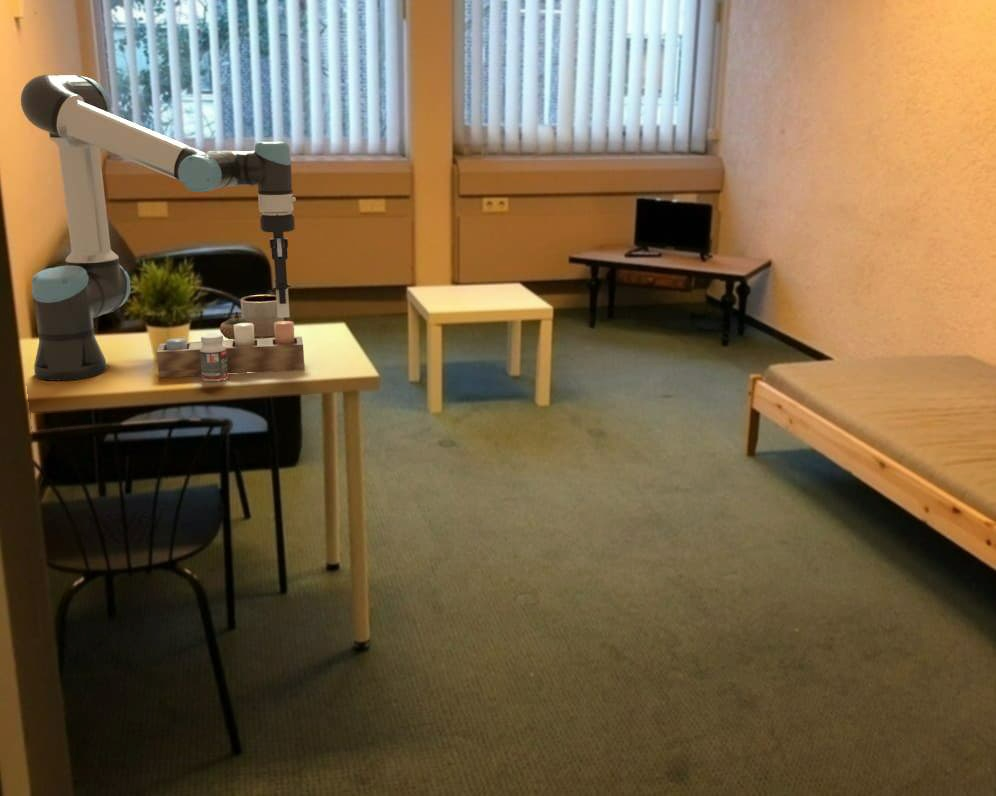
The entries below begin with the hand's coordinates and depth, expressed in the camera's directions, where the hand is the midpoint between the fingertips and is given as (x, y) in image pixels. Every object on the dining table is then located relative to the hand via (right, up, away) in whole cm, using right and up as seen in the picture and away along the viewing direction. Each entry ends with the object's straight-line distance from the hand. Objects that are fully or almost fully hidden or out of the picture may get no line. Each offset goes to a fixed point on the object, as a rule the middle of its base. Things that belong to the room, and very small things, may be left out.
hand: (283, 316), depth 232 cm
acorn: (-15, -7, +17) cm, 24 cm away
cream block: (-9, -7, 0) cm, 11 cm away
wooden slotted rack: (-12, -12, +1) cm, 17 cm away
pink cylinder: (0, -7, +2) cm, 7 cm away
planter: (-13, -2, +36) cm, 38 cm away
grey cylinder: (-24, -11, -2) cm, 26 cm away
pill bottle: (-14, -15, -7) cm, 21 cm away
